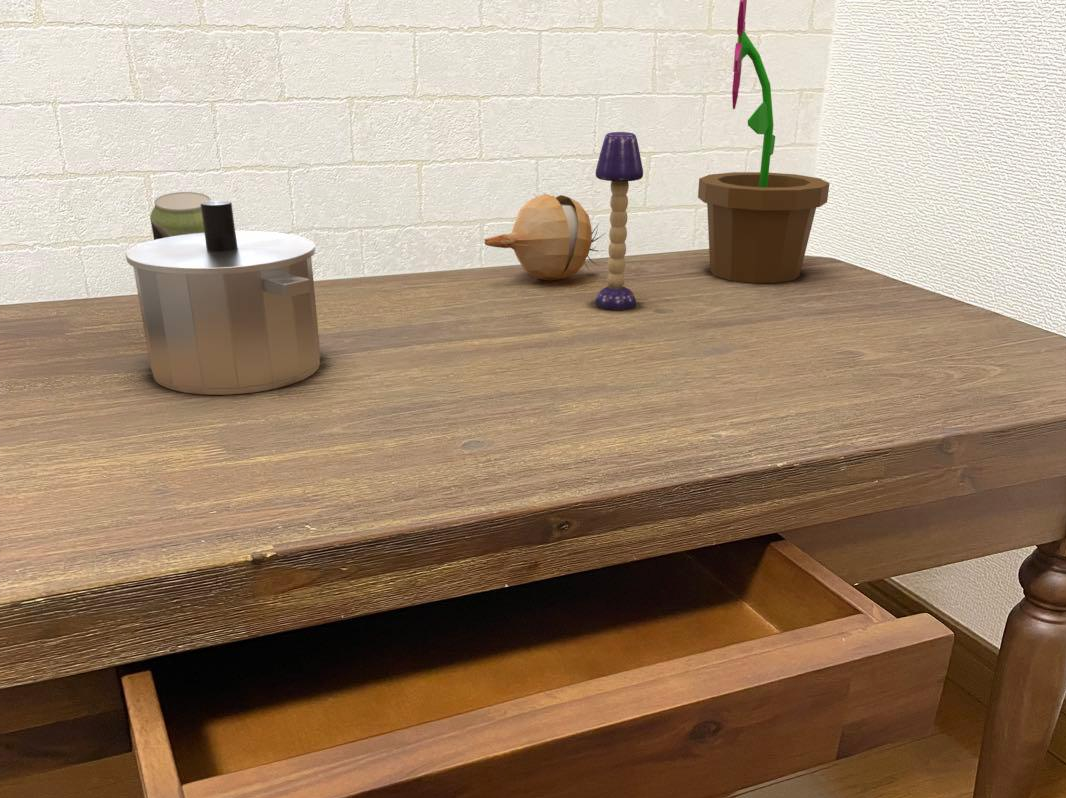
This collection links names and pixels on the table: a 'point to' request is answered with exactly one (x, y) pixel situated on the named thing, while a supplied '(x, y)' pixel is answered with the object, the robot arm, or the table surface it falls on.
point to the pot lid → (220, 248)
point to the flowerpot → (759, 200)
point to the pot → (230, 329)
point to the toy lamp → (618, 212)
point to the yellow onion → (549, 237)
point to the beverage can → (177, 214)
